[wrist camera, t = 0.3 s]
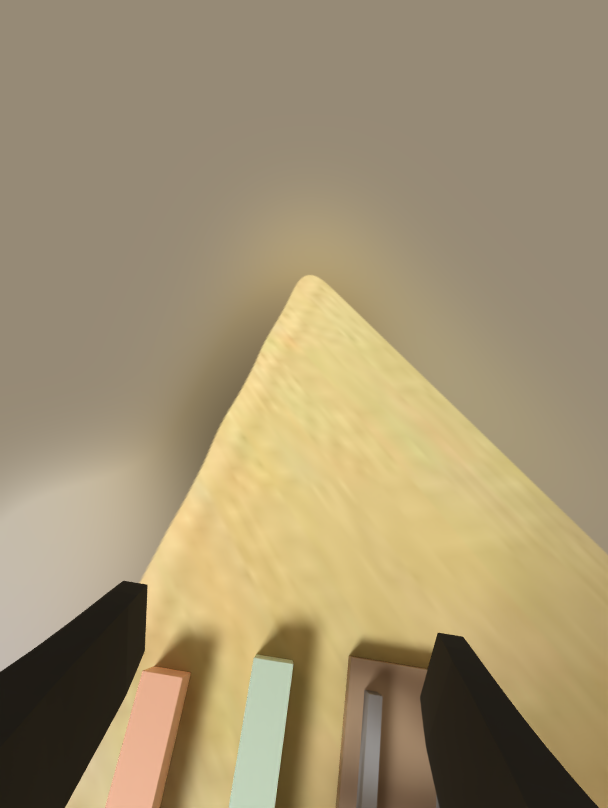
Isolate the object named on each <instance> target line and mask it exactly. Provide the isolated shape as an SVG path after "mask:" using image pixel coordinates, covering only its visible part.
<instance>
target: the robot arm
mask: <svg viewBox="0 0 608 808" xmlns="http://www.w3.org/2000/svg"><path fill="white" fill-rule="evenodd" d="M146 609H147V585H146V584H140V583H133V582H127V581H123V582H121V583H120V584H118V585H117V586H116V587H115V588H113V589H112V590H111V591H109V592H108V593H107V594H105V595H104V596H103V597H102V598H100V599H99V600H98V601H96V602H95V603H94V604H93V605H91V606H90V607H89V608H88V609H86V610H85V611H84V612H82V613H81V614H80V615H78V616H77V617H76V618H75V619H73V620H72V621H71V622H69V623H68V624H67V625H65V626H64V627H63V628H61V629H60V630H59V631H57V632H56V633H55V634H53V635H52V636H51V637H49V638H48V639H47V640H45V641H44V642H43V643H41V644H40V645H38V646H37V647H36V648H34V649H33V650H32V651H30V652H28V653H27V654H26V655H24V656H23V657H21V658H20V659H19V660H17V661H15V662H14V663H13V664H11V665H10V666H8V667H7V668H6V669H4V670H3V671H1V672H0V808H65V806H66V805H67V803H68V801H69V799H70V797H71V795H72V794H73V792H74V790H75V788H76V786H77V785H78V783H79V781H80V779H81V777H82V775H83V774H84V772H85V770H86V768H87V766H88V764H89V763H90V761H91V759H92V757H93V755H94V753H95V752H96V750H97V748H98V746H99V744H100V743H101V741H102V739H103V737H104V735H105V733H106V732H107V730H108V728H109V726H110V724H111V722H112V720H113V719H114V717H115V715H116V713H117V711H118V709H119V708H120V706H121V704H122V702H123V700H124V698H125V696H126V694H127V692H128V689H129V687H130V685H131V683H132V680H133V678H134V676H135V673H136V671H137V668H138V666H139V663H140V661H141V659H142V656H143V654H144V651H145V632H146ZM420 703H421V712H422V720H423V729H424V736H425V744H426V750H427V754H428V759H429V764H430V768H431V772H432V777H433V781H434V786H435V790H436V795H437V799H438V803H439V808H599V807H598V806H597V805H596V804H595V803H594V802H593V801H592V800H591V799H590V797H589V796H588V795H587V794H586V793H585V792H584V791H583V789H582V788H581V787H580V786H579V785H578V784H577V783H576V782H575V780H574V779H573V778H572V777H571V776H570V774H569V773H568V772H567V771H566V770H565V768H564V767H563V766H562V765H561V764H560V763H559V761H558V760H557V759H556V758H555V757H554V755H553V754H552V753H551V752H550V751H549V749H548V748H547V747H546V746H545V744H544V743H543V742H542V741H541V740H540V738H539V737H538V736H537V735H536V733H535V732H534V731H533V730H532V728H531V727H530V726H529V724H528V723H527V722H526V721H525V719H524V718H523V717H522V715H521V714H520V713H519V712H518V710H517V709H516V708H515V706H514V705H513V704H512V702H511V701H510V700H509V698H508V697H507V696H506V694H505V693H504V692H503V690H502V689H501V688H500V686H499V685H498V684H497V682H496V681H495V680H494V678H493V677H492V676H491V674H490V673H489V672H488V670H487V669H486V667H485V666H484V665H483V663H482V662H481V661H480V659H479V658H478V656H477V655H476V654H475V652H474V651H473V650H472V648H471V647H470V645H469V644H468V643H467V641H466V640H465V639H464V637H461V636H455V635H449V634H443V633H438V634H437V637H436V641H435V645H434V648H433V652H432V655H431V659H430V663H429V666H428V670H427V673H426V677H425V681H424V684H423V688H422V691H421V695H420Z"/></svg>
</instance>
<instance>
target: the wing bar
mask: <svg viewBox="0 0 608 808" xmlns="http://www.w3.org/2000/svg"><path fill="white" fill-rule="evenodd" d="M190 675H191V672H185V671H179V670H174V669H168V668H162V667H156V666H154V667H151V668H149V669H146V670H144V671H142V675H141V678H140V682H139V686H138V689H137V693H136V697H135V700H134V704H133V708H132V711H131V715H130V719H129V722H128V726H127V730H126V733H125V737H124V741H123V744H122V748H121V752H120V755H119V759H118V762H117V766H116V770H115V773H114V777H113V781H112V784H111V788H110V792H109V795H108V799H107V803H106V806H105V808H160V805H161V801H162V797H163V792H164V788H165V784H166V779H167V775H168V770H169V766H170V762H171V757H172V753H173V749H174V744H175V740H176V736H177V731H178V727H179V722H180V718H181V714H182V709H183V705H184V701H185V696H186V692H187V688H188V683H189V679H190Z"/></svg>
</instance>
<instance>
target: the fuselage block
mask: <svg viewBox="0 0 608 808" xmlns="http://www.w3.org/2000/svg"><path fill="white" fill-rule="evenodd" d="M292 671H293V660H288V659H282V658H276V657H270V656H264V655H258V654H256V656H255V657H254V660H253V666H252V672H251V678H250V684H249V690H248V696H247V702H246V708H245V714H244V720H243V726H242V732H241V738H240V744H239V750H238V756H237V761H236V767H235V773H234V779H233V785H232V791H231V797H230V803H229V808H275V800H276V793H277V785H278V777H279V770H280V762H281V755H282V747H283V739H284V732H285V724H286V716H287V709H288V701H289V693H290V686H291V678H292Z"/></svg>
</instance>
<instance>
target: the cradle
mask: <svg viewBox="0 0 608 808" xmlns="http://www.w3.org/2000/svg"><path fill="white" fill-rule="evenodd" d="M427 670H428V669H426V668H420V667H414V666H408V665H402V664H396V663H390V662H384V661H378V660H372V659H366V658H360V657H354V656H349V660H348V672H347V684H346V695H345V707H344V718H343V730H342V742H341V753H340V765H339V776H338V788H337V799H336V808H439V803H438V799H437V795H436V790H435V786H434V781H433V777H432V772H431V768H430V764H429V759H428V754H427V750H426V744H425V736H424V729H423V720H422V712H421V703H420V695H421V691H422V688H423V684H424V681H425V677H426V673H427Z"/></svg>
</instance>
